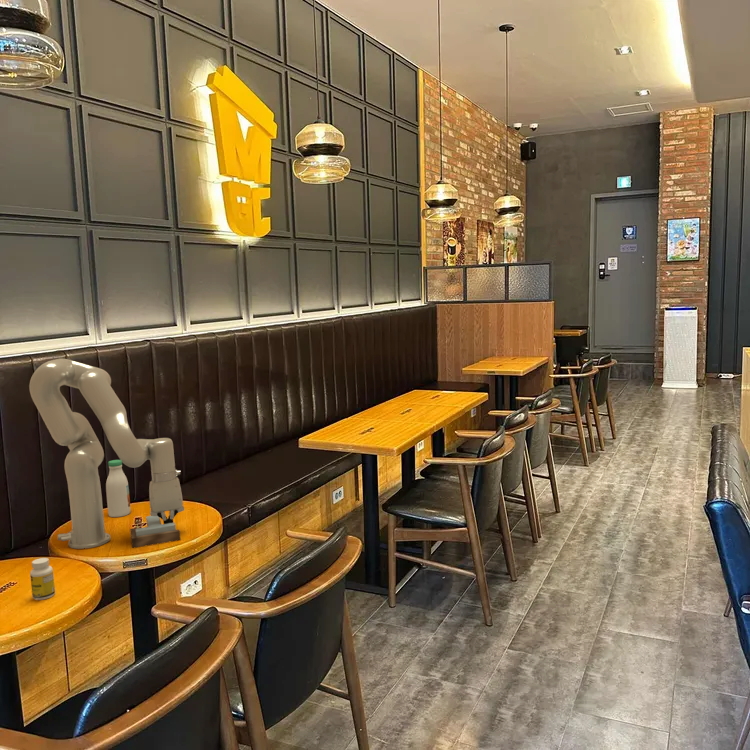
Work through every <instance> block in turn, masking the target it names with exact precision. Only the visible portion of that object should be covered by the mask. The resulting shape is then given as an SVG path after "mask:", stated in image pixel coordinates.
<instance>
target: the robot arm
mask: <svg viewBox="0 0 750 750" xmlns="http://www.w3.org/2000/svg"><path fill="white" fill-rule="evenodd" d="M111 385H112V377H111V375H110V374H109V373H108V372H107V371H106V370H105V369H102V368H100V367H97V366H92V365H89V364H86V363H82V362H79V361H75V360H72V359H69V358H56V359H52V360H48V361H46V362H44V363H42V364H41V365H39V366H38V367H37V368H36V369H35V371H34V372H33V373H32V376H31V378H30V380H29V385H28V387H29V393H30V397H31V400H32V402H33V403H34V405H35V407H36V409H37V411H38V412H39V414H40V416H41V418H42V420H43V423H44V424H45V427H46V428H47V430H48V432H49V434H50V435H51V438H52V439H53V440H54V442H55V443H56V444H57V445H59V446H63V447H64V446H65V447H67V448H68V449H69V452H68V453H67V455H66V457H65V459H64V473H65V477H66V481H67V489H68V498H69V506H70V520H71V530H70V531H68V532H67V533H59V534H57V541H61V542H65V541H68V543H67V544H68V547H69V548H71V549H75V550H76V549H77V550H81V549H84V548H85V549H91V548H96V547H100V546H103V545H104V544H105V545H106V544H107V543H108V542H110V540H111V534H109V533H107V532H106V530H105V520H104V519H105V518H104V517H105V516H104V509H103V496H102V488H101V481H100V475H99V469H98V468H99V466H100V465H101V464H102V462H103V461H104V458H105V453H104V449H103V446H102V444H101V442H100V441H99V438H98V437H97V435H96V433H95V431H94V429H93V428H92V425H91V424H90V421H89V420H88V419H87V417H85V415H83V414H82V413H80V412H76V411H72V409H71V407H70V405H69V403H68V401H67V400H66V398H65V396H64V395H63V394H62V392H61V387H62V386H68V387H71V388H73V389H74V388H75V389H78V390H79V392H80V393H81V395H82V396H83V398H84V399H85V400H86V402H87V404H88V405H89V408H91V410H92V411H93V413H94V414H95V417H97V419H98V421H99V422H100V424H101V426H102V429H103V432H104V433H105V435H106V438H107V440H108V442H109V445H110V446H111V447H112V450H113V451H114V452H115V453H116V455H117V457H118V458H119V460H121V461H122V464H124V465H125V466H127V467H128V468H134V469H135V468H139V467H141V466H142V465H143V464H144V463H145V462H147V460H149V462H150V471H151V481H149V489H148V492H149V493H148V494H149V495H148V497H149V506H150V507H149V508H150V513H149V516H158V517H159V518H160V520H162V521H163V522H162V523H163V524H168V523H174V519H175V517H176V515H178V513H181V512H184V511H185V507H184V505H183V504H184V502H183V494H182V488H181V484H180V479H179V477H178V476H180V475H181V470H178V469H176V463H175V461H176V460H175V454H174V453H175V451H174V443H173V440H172V439H171V438H169V437H159V438H154V439H150V438H149V439H147V438H137V437H135V435H134V433H133V432H132V429H131V428H130V425H129V422H128V417H127V410H126V408H125V406H124V404H123V403H122V402H121V400H120V398H119V397H118V395H117V394H116V393H115V390H114V389H113V388H112V386H111ZM166 512H169V513H168V517H167V515H166ZM85 549H84V550H85Z"/></svg>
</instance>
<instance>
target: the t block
mask: <svg viewBox="0 0 750 750" xmlns="http://www.w3.org/2000/svg"><path fill="white" fill-rule="evenodd" d="M145 518H146V527H140V528H135V530H136V536H142V535H148V534H155V533H161V532H167V531H173V530H177V527H176V522H173V523H168V524H164V523H163V524H162V521H161V518H160V517H158V516H151V515H148V516H146V517H145Z"/></svg>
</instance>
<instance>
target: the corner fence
mask: <svg viewBox="0 0 750 750" xmlns="http://www.w3.org/2000/svg"><path fill="white" fill-rule="evenodd" d="M129 531H130V540H131V547H132V548H133V549H135V548H140V546H141V547H146V546H145V545H147V546H151V545H152V544H153V545H158V544H157V543H159V544H164V542H165V543H170V542H169V541H171V542H176V540H177V541H181V531H180V529H176V530H173V531H167V532H161V533H155V534H148V535H142V536H136V528H134V527H133V528H130V530H129ZM134 547H135V548H134Z"/></svg>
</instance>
